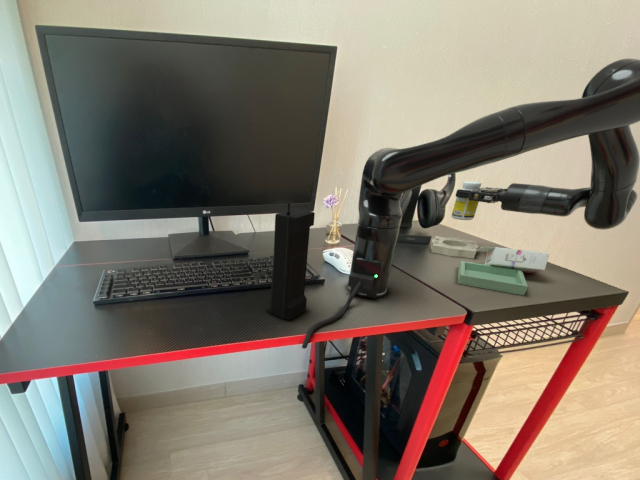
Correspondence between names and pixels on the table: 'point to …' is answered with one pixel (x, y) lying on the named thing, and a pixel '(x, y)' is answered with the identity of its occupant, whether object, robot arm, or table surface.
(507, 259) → the ink cartridge box
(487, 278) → the basin tray
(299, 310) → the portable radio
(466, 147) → the robot arm
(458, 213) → the pill bottle
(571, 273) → the table surface
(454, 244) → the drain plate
